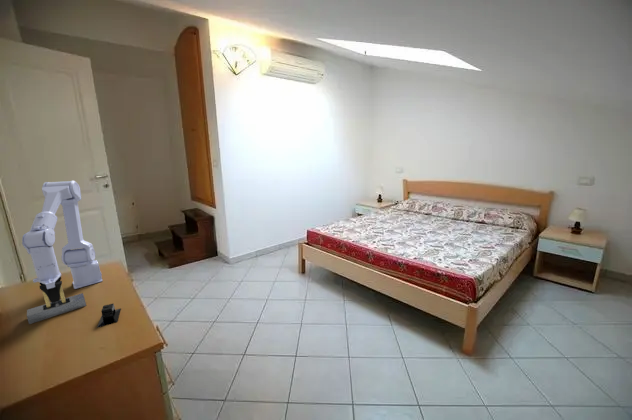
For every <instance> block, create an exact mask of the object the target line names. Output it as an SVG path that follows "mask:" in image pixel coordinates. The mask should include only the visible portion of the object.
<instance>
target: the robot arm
mask: <svg viewBox="0 0 632 420" xmlns="http://www.w3.org/2000/svg"><path fill="white" fill-rule="evenodd" d="M41 191H42V195H43V197H44V200H43V204H42V208H41V212H39V213H36V214H35V217H34V218H33V222H32V224H31V226H30V228H29V231H27V232H26V233H24V234H23V235H22V238H21V241H22V242H21V244H22V246H23V248H24V249H25V250H26V252H27V254H28V255H30V257H31V261H32V265H33V268H34V271H35V275H36V278H33V280H32V282H33V283H39V290H40V291H43V292H45V294H46V295H47V296H48V298H49V300H50V303H51V302H52V303H53V302H57V301H60V300H61V297H60V287H61V285H62V284H63V280H62V273H61V272H60V268H59V264H58V261H57V257H56V253H55V249H54V246H53V245H54V244H55V241H56V236H55V235H56V231H55V229H56V225H57V222H58V215H56V213H57V211H58V210H59V208H60V205H61V207H62V212H63V213H62V214H63V219H64V223H65V231H66V236H67V237H66V238H67V243H66V244H65V245H64V246H62V249H61V258H60V259H61V261H62V263H63V264H64V265H65V266H67V267H68V268H70V269H69V270H70V272H71V277H72V280H73V281H72V286H73V289H74V290H76V289H79V288H83V287H88V286H91V285H94V284H98V283H101V282H103V277H102V271H101V269H100V264H99V262H98V260H97V259H96V250H95V248H94V245H93V243H91V242H89V241H87V240H85V239H84V236H83V235H84V234H83V229H82V222H81V221H82V220H81V216H80V208H79V201H82V192H81V187H80V185H79V183H78V182H77V181H76V180H70V181H69V180H68V181H67V180H66V181H65V180H64V181H44V182H43V184H42V186H41ZM95 259H96V260H95ZM62 286H63V285H62ZM43 292H42V293H43Z"/></svg>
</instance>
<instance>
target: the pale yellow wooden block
mask: <svg viewBox="0 0 632 420" xmlns="http://www.w3.org/2000/svg"><path fill="white" fill-rule="evenodd" d="M41 291H42V290H41ZM42 295H43V299H44V302H45V304H46V307H47V308H49V307H51V304H50V303H51V301H50V300H49V298H48V296H47V295H46V294H45V292H43V291H42ZM65 298H66V297H65V292H64V289H63V285H61V287H60V300H62V303H66V300H65Z"/></svg>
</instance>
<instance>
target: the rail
mask: <svg viewBox="0 0 632 420" xmlns="http://www.w3.org/2000/svg"><path fill="white" fill-rule="evenodd" d="M65 300H66V303H62V300H61V299H60V301H57V302H53V303H52V302H51V301H50V304H51V307H49V308H47V307H46V303H45V304H42V305H39V306H35V307H32V308H27V309H26V318H27V322H28V325H31V324H34V323H37V322H40V321H44V320H47V319H49V318H53V317H56V316H59V315H62V314H65V313H69V312H71V311H74V310H77V309H80V308H84V307H86V306H87V302H86V299H85V296H84V293H83V292H82V293H78V294H76V295H71V296H69V297H65Z"/></svg>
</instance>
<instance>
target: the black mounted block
mask: <svg viewBox="0 0 632 420" xmlns="http://www.w3.org/2000/svg"><path fill="white" fill-rule="evenodd" d="M100 311H101V316H100V319H99V321H98V324H97V326H96V328H97V329H98V328H101V327H105V326H109V325H113V324H114V325H115V324H116V323H118V321H119V317H120V314H121V311H122V308H117V309H116V308H115V304H114V303H110V304H105V305H103V306H102V309H101V310H100Z"/></svg>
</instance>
